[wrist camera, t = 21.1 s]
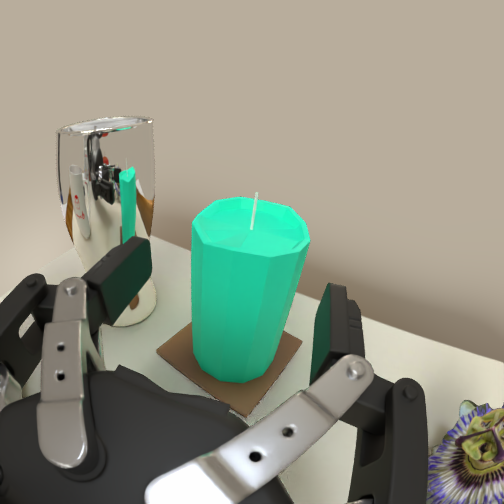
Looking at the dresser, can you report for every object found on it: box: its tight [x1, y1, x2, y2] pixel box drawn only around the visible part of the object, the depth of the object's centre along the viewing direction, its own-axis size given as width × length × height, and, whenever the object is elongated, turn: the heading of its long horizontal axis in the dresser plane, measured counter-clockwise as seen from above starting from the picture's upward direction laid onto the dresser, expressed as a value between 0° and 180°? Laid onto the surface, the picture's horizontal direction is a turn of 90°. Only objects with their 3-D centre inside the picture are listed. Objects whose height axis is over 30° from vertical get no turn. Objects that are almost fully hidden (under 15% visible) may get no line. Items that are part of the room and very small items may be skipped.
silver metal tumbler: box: [56, 116, 157, 326], centre depth 18 cm, size 7×7×15 cm
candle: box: [191, 192, 310, 383], centre depth 16 cm, size 6×6×12 cm
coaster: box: [156, 322, 302, 417], centre depth 20 cm, size 8×8×1 cm
